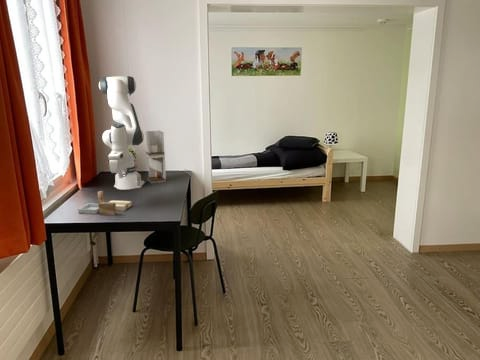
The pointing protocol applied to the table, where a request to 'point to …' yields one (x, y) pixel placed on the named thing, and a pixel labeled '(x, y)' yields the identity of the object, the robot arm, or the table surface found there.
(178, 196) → the table surface
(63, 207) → the table surface
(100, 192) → the dowel
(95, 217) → the table surface
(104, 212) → the wooden block
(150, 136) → the display case
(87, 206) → the tray
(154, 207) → the table surface
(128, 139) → the robot arm
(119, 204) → the board
